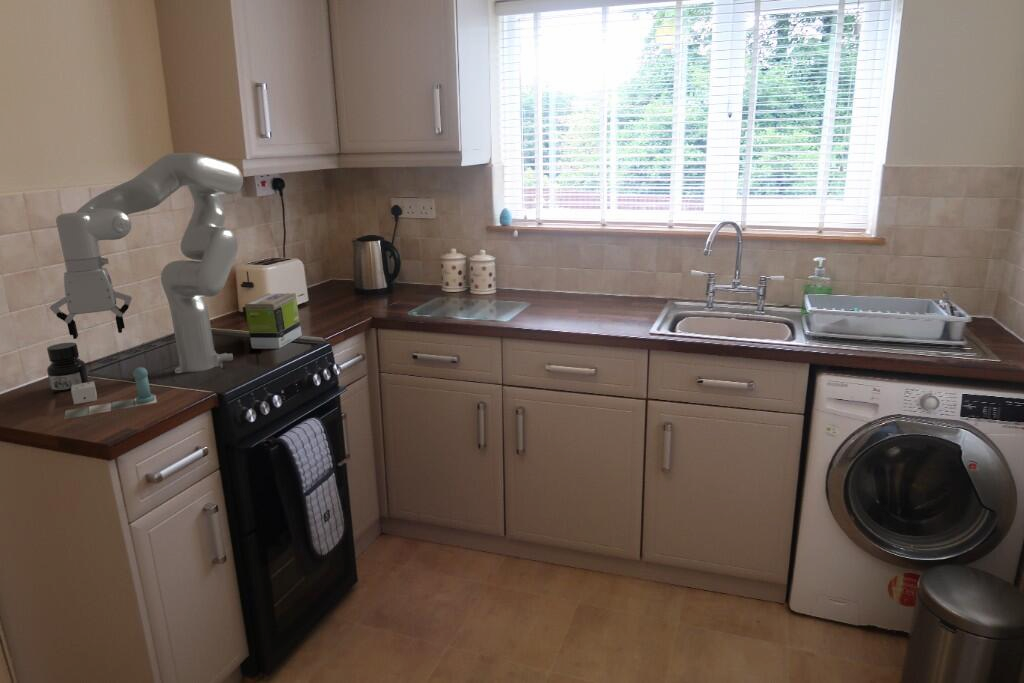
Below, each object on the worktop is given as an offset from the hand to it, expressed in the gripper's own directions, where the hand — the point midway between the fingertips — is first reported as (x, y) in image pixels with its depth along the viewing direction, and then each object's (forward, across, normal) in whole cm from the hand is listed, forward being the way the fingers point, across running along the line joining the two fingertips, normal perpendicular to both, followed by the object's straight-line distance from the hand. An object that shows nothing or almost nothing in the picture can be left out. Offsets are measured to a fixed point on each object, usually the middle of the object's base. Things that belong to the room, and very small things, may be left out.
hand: (98, 334), depth 177 cm
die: (+18, +6, -4) cm, 20 cm away
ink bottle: (+19, +11, -21) cm, 30 cm away
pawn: (+17, -8, +5) cm, 19 cm away
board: (+18, 0, +6) cm, 19 cm away
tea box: (+19, -45, -38) cm, 62 cm away
